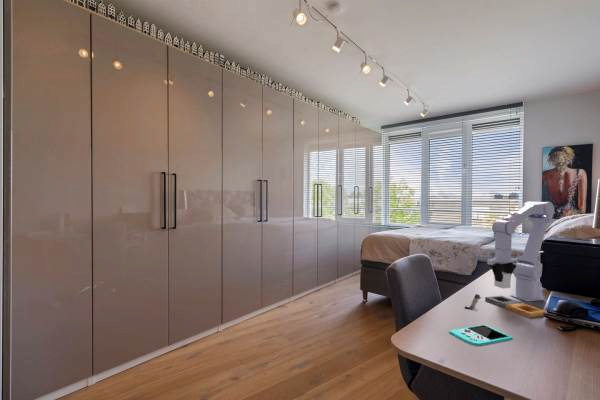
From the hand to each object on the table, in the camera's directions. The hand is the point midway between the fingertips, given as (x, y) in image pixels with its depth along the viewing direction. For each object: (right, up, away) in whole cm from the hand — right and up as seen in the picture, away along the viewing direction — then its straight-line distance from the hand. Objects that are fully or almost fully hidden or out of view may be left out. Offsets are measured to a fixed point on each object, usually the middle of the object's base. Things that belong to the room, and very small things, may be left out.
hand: (502, 280), depth 127 cm
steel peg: (0, -3, 0) cm, 2 cm away
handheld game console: (-28, -10, -31) cm, 43 cm away
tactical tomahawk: (-11, -10, -1) cm, 15 cm away
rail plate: (+1, -9, -5) cm, 11 cm away
